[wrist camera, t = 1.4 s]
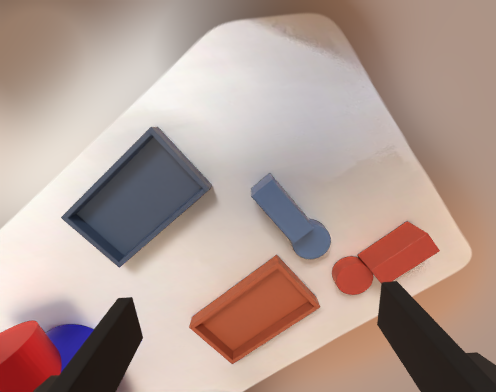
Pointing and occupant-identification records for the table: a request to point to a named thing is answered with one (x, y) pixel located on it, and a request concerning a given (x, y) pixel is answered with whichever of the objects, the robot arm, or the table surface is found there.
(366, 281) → the red spoon
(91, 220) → the blue tray
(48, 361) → the blue red crossed cylinders
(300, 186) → the table surface
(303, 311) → the red tray
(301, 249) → the blue spoon
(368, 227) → the table surface
